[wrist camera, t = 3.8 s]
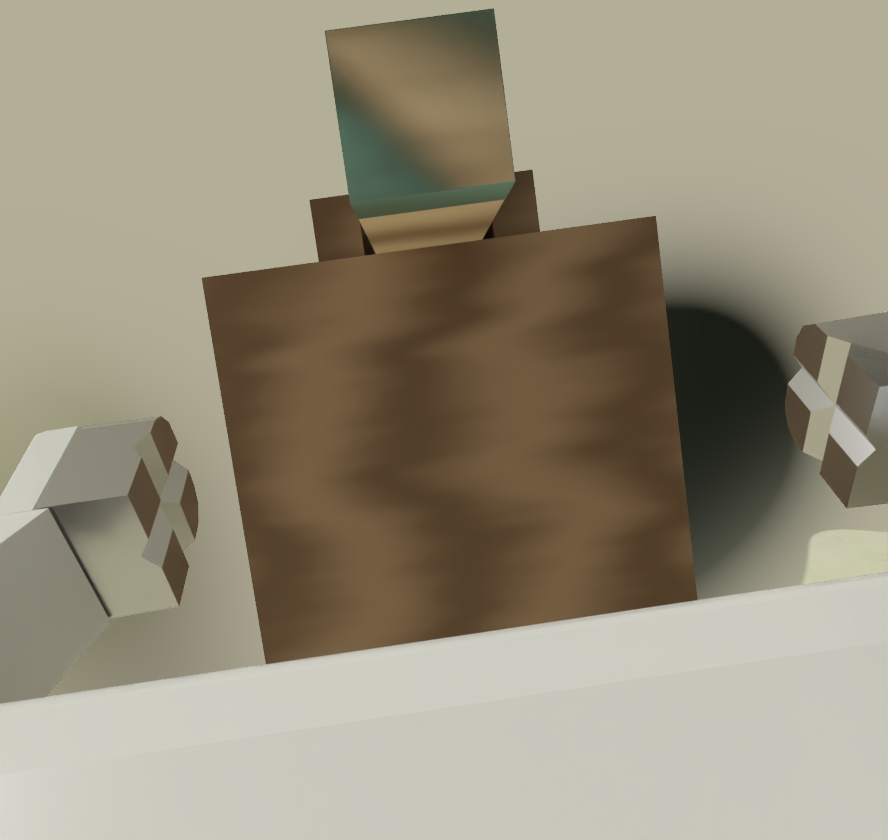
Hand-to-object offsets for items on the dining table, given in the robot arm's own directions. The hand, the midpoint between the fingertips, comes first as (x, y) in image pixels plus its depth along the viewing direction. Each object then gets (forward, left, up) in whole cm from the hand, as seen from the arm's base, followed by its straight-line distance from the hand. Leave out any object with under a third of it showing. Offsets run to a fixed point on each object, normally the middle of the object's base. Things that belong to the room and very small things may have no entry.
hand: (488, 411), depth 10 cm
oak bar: (-6, -18, +4) cm, 19 cm away
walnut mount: (-8, -21, -22) cm, 31 cm away
